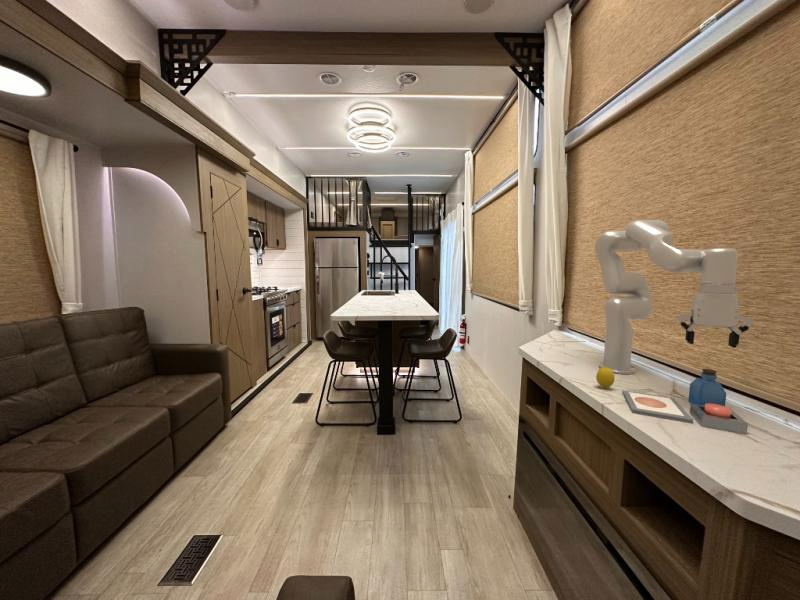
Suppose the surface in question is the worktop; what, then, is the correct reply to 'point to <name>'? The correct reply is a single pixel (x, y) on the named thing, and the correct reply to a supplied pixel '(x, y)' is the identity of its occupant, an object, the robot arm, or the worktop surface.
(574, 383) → the worktop surface
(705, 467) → the worktop surface
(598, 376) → the lemon
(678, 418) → the board
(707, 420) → the button base
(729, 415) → the button
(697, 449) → the worktop surface
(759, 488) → the worktop surface
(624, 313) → the robot arm
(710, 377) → the perfume bottle
